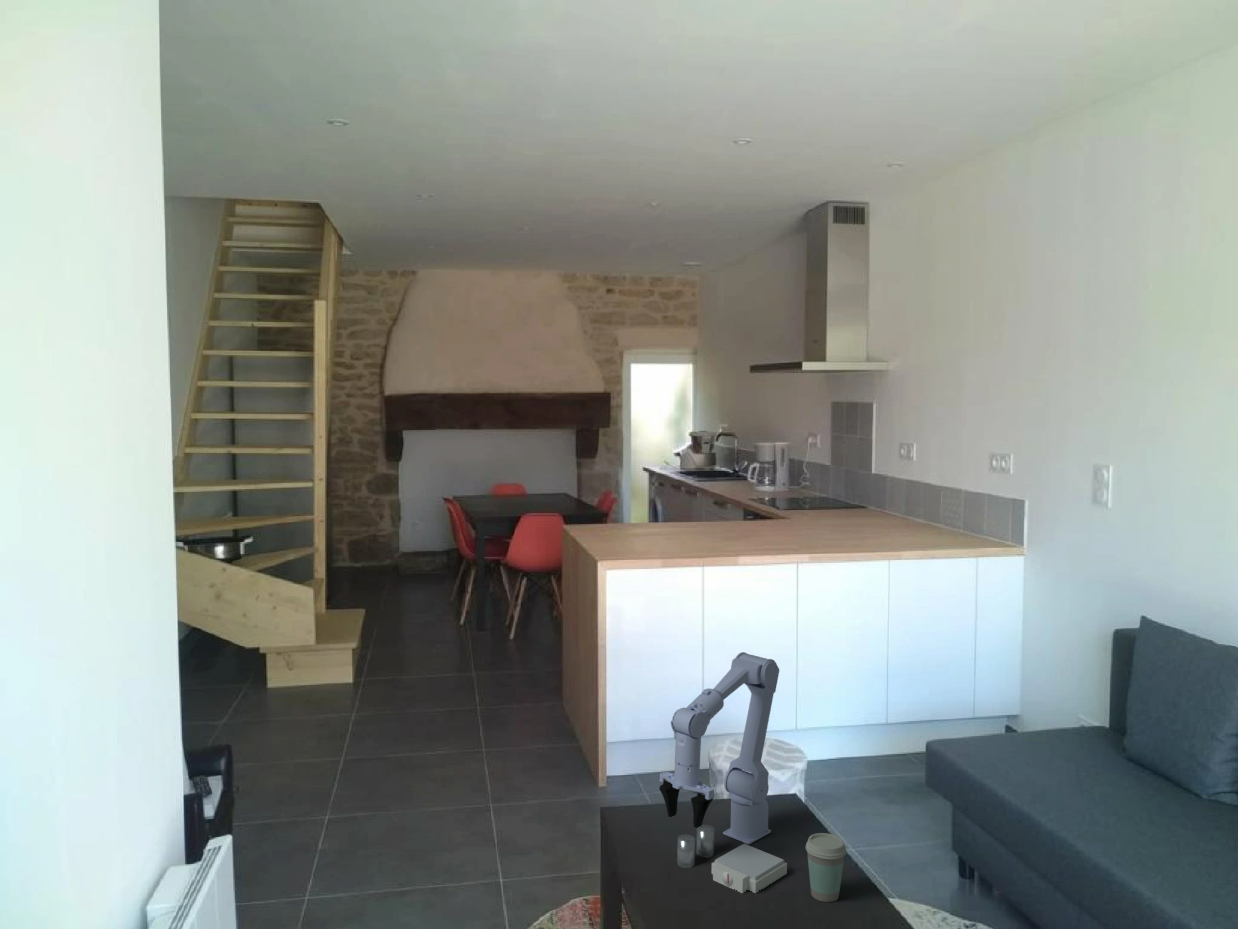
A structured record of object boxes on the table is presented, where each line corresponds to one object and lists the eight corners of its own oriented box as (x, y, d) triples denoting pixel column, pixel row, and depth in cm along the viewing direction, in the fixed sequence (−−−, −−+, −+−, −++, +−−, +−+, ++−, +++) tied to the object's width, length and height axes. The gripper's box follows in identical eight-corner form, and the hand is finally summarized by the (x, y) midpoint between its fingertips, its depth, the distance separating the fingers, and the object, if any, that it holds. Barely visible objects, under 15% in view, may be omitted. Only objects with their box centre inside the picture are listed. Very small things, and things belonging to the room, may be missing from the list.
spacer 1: (684, 858, 216) (685, 832, 216) (698, 864, 213) (698, 838, 213) (673, 864, 213) (674, 838, 213) (687, 870, 211) (687, 844, 210)
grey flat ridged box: (743, 855, 218) (743, 842, 217) (786, 873, 209) (787, 859, 209) (704, 877, 207) (705, 863, 207) (748, 897, 199) (749, 883, 199)
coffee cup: (847, 889, 203) (848, 835, 202) (843, 909, 195) (844, 853, 194) (807, 882, 206) (808, 829, 205) (801, 901, 198) (803, 846, 197)
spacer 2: (703, 848, 221) (704, 823, 221) (717, 853, 218) (717, 828, 218) (693, 853, 218) (693, 828, 218) (706, 859, 216) (706, 834, 215)
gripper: (651, 757, 214) (649, 815, 214) (701, 775, 204) (698, 836, 204) (671, 750, 219) (669, 807, 219) (721, 767, 209) (718, 827, 209)
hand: (684, 821), depth 212 cm, fingers open, 7 cm apart
